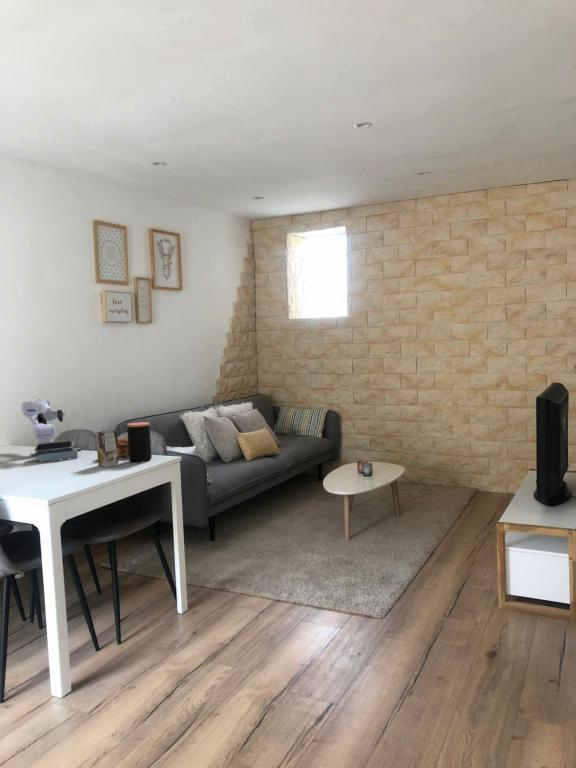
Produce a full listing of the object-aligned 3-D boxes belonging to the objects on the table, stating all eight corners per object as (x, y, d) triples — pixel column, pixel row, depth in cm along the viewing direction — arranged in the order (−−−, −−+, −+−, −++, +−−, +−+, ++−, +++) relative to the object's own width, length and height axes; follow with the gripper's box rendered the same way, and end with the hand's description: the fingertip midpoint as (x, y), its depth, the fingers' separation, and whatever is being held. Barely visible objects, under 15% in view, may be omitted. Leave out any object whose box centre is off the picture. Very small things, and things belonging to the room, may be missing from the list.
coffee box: (119, 465, 294) (117, 431, 293) (106, 467, 290) (103, 432, 289) (110, 463, 301) (108, 429, 300) (97, 465, 297) (95, 431, 296)
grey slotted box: (29, 459, 322) (28, 452, 322) (77, 453, 334) (77, 446, 334) (33, 463, 310) (33, 455, 309) (83, 457, 322) (83, 449, 321)
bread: (104, 461, 309) (102, 440, 309) (103, 457, 319) (102, 438, 319) (142, 457, 314) (141, 437, 314) (141, 454, 325) (140, 435, 324)
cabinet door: (34, 451, 323) (33, 447, 324) (71, 447, 332) (71, 443, 333) (38, 444, 311) (37, 440, 311) (77, 440, 320) (76, 436, 320)
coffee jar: (154, 458, 310) (152, 421, 309) (147, 462, 299) (145, 424, 298) (133, 458, 311) (131, 422, 310) (125, 462, 300) (123, 425, 299)
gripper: (31, 407, 323) (38, 416, 313) (60, 402, 331) (68, 411, 321) (32, 420, 326) (39, 429, 315) (61, 415, 333) (68, 424, 323)
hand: (53, 421), depth 318 cm, fingers open, 7 cm apart
